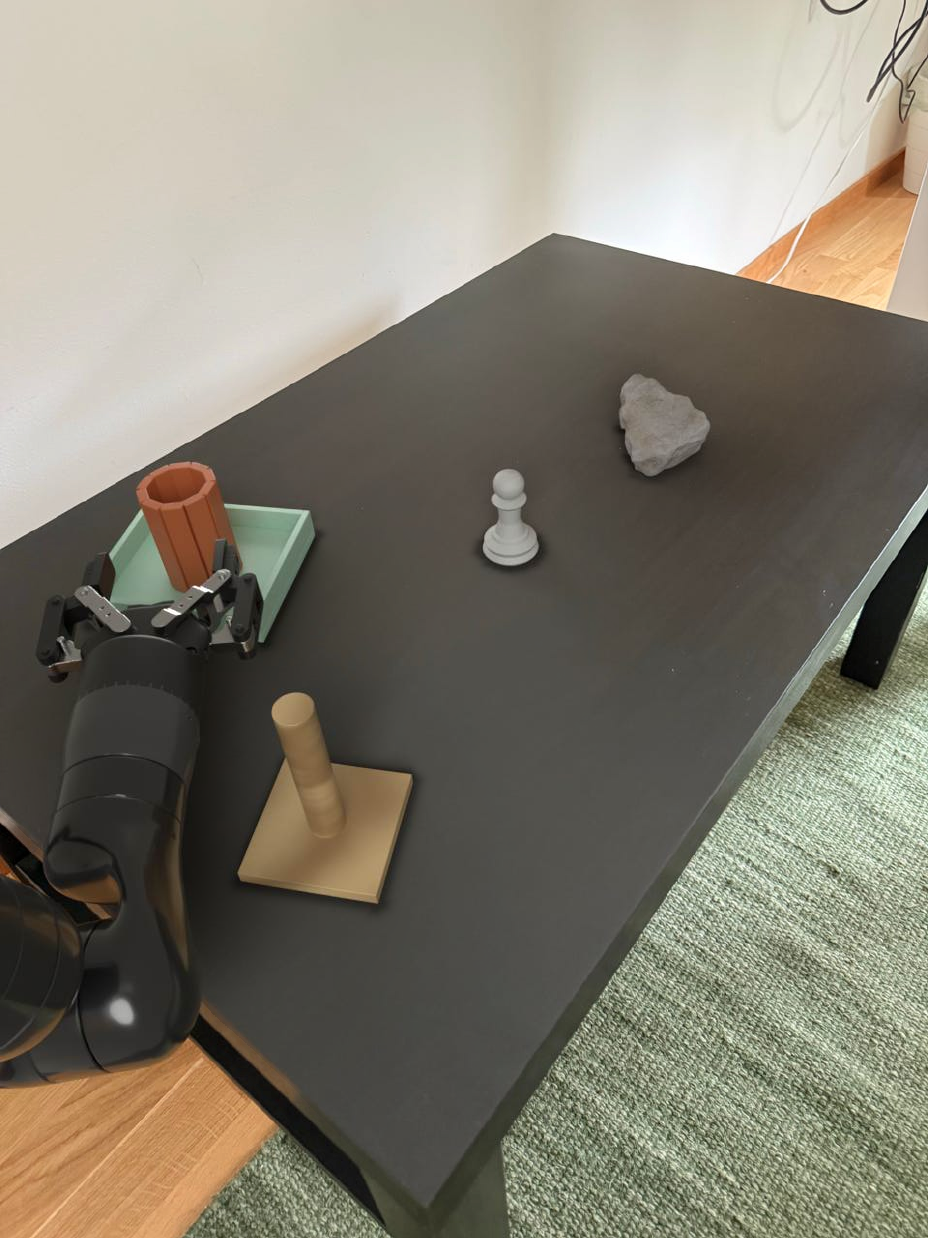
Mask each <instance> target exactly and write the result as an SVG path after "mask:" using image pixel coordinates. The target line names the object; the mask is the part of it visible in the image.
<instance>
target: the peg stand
mask: <svg viewBox="0 0 928 1238" xmlns="http://www.w3.org/2000/svg"><path fill="white" fill-rule="evenodd" d="M271 708H272V709H271V718H272V720H273V724H274V726H275V729H276V733H277V735H278V739H279V741H280V744H281V748H282V750H283V753H284V756H285V757H284V760H283V762H282V764H281V767H280V770H279V771H278V774H277V777H276V779H275V782H274V783H273V787H272V788H271V791H270V793H269V796H268V798H267V800H266V803H265V806H264V808H263V810H262V812H261V815H260V817H259V820H258V823H257V824H256V827H255V830H254V832H253V835H252V837H251V839H250V841H249V844H248V846H247V849H246V852H245V854H244V856H243V859H242V861H241V864H240V866H239V868H238V871H237V876H238V878H239V880H240V882H244V883H250V884H256V885H262V886H268V887H274V888H281V889H287V890H292V891H299V892H305V893H311V894H317V895H324V896H329V897H334V898H340V899H347V900H353V901H360V902H366V903H373V904H379V902H380V898H381V895H382V891H383V888H384V884H385V881H386V877H387V873H388V871H389V867H390V864H391V860H392V856H393V853H394V850H395V846H396V843H397V839H398V836H399V833H400V829H401V826H402V822H403V819H404V815H405V812H406V809H407V805H408V802H409V799H410V794H411V791H412V787H413V784H414V781H413V780H414V779H413V774H412V773H405V772H396V771H391V770H390V771H389V770H382V769H375V768H368V767H361V766H354V765H346V764H339V763H333V762H331V758H330V755H329V751H328V748H327V744H326V741H325V737H324V733H323V730H322V727H321V723H320V719H319V716H318V713H317V709H316V705H315V702H314V700H313V699H312V697H310V695H308V694H306V693H302V692H290V693H287V694H284V695H282V696H280V697H279V698H278V699H277V700H275V702H274V703H273V705H272V707H271Z"/></svg>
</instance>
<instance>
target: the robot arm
mask: <svg viewBox="0 0 928 1238" xmlns="http://www.w3.org/2000/svg"><path fill="white" fill-rule="evenodd" d="M109 554H110V553H109V552H107V551H105V552H98V553H95V558H94V560H90V561H89V562H88V564H86V566H85V571H84V573H83V574H84V575H83V578H82V582H81V586H80V587H78V588H77V589H76V590H75V591H74V594H73V595H70V596H68V597H65V596H64V595H60V594H56V595H53V596H51V597H49V598H48V599H47V600H46V603H45V608H44V613H43V617H42V622H41V627H40V631H39V637H38V641H37V645H36V651H35V656H36V659H37V660H38V661H39V664H40V665H41V667H42V670H43V671H44V673H45V674H46V675H47V678H48V679H49V681H50V682H51V683H53V684H60V683H62V682H64V681H66V680H67V678H68V677H69V674H70V672H74V671H80V672H79V676H78V681H77V685H76V688H75V691H74V692H75V693H74V696H73V697H74V698H73V702H72V705H71V710H70V714H69V718H68V722H67V727H66V730H65V735H64V739H63V743H62V748H61V756H60V769H59V771H60V772H59V779H58V785H57V790H56V793H55V797H54V802H53V807H52V811H51V815H50V819H49V824H48V826H47V831H46V835H45V840H44V846H43V853H42V868H43V873H44V875H45V878H46V879H47V882H48V883H49V884H50V886H51V887H52V888H53V889H54V890H56V891H57V892H58V893H60V894H62V895H63V896H65V897H67V898H69V899H71V900H74V901H78V902H82V903H85V904H91V905H92V904H93V905H101V906H107V907H109V906H110V907H117V909H116V912H115V914H114V916H112V917H107V918H101V919H96V920H92V921H91V920H90V921H85V922H81V923H76V922H75V920H74V918H73V916H71V914H70V913H69V912H68V911H67V910H66V909H65V908H64V907H63V905H61V904H60V903H59V902H57V901H56V900H55V899H53V897H50V896H49V895H47V894H46V893H44V892H42V891H40V890H38V889H36V888H34V887H32V886H29V885H27V884H25V883H23V882H21V881H19V880H16V879H14V878H12V877H9V876H7V875H5V874H2V873H0V1090H22V1089H23V1090H24V1089H32V1088H42V1087H46V1086H52V1085H58V1084H62V1083H68V1082H74V1081H79V1080H85V1079H90V1078H95V1077H101V1076H107V1075H112V1074H118V1073H124V1072H130V1071H135V1070H141V1069H145V1068H151V1067H153V1066H156V1065H158V1064H162V1063H164V1062H165V1061H167V1060H169V1059H170V1058H171V1057H173V1056H174V1055H175V1054H176V1053H177V1052H178V1051H179V1050H180V1049H181V1047H183V1045H184V1044H185V1042H186V1041H187V1040H188V1038H189V1037H190V1035H191V1033H192V1031H193V1029H194V1027H195V1025H196V1023H197V1020H198V1017H199V1014H200V1012H201V1008H202V1007H201V1006H202V1001H203V979H202V973H201V966H200V962H199V956H198V952H197V948H196V944H195V939H194V935H193V930H192V927H191V923H190V916H189V912H188V905H187V898H186V892H185V883H184V882H185V881H184V874H183V865H182V864H183V863H182V861H183V860H182V847H183V846H182V845H183V837H184V831H185V830H184V828H185V819H186V811H187V805H188V804H187V803H188V795H189V789H190V786H191V782H192V779H193V776H194V772H195V767H196V762H197V756H198V755H197V754H198V750H199V747H200V745H201V732H200V727H201V718H202V711H203V710H202V709H203V699H204V692H205V683H206V672H207V671H206V670H207V669H206V668H207V666H208V664H209V662H210V661H211V660H212V658H213V657H214V656H215V654H219V653H220V654H221V653H232V652H237V655H238V657H239V659H241V660H243V661H249V660H252V659H254V658H255V657H256V656H257V652H258V646H259V642H258V640H259V633H260V626H261V619H262V612H263V605H264V601H263V597H262V594H261V591H260V587H259V584H258V581H257V577H256V575H255V574H254V573H245V574H243V575H241V576H239V568H240V562H239V559H238V555H237V552H236V549H235V547H234V545H228V543H227V540H226V539H218V540H216V541H215V549H214V557H213V566H212V573H213V575H212V576H211V577H210V578H209V579H208V580H207V581H206V582H205V583H204V584H202V585H201V586H200V587H198V586H193V587H191V588H190V589H189V590H188V591H187V592H186V593H185V594H183V595H182V596H181V597H180V598H179V599H178V600H177V601H176V602H174V600H170V601H162V602H159V603H155V604H152V605H144V604H136V605H128V607H127V609H125V610H123V611H121V612H119V611H118V610H117V609H116V608H115V607H114V606H113V605H112V604H111V603H110V599H111V594H112V590H113V585H114V581H115V577H116V571H115V567H114V565H113V563H112V561H111V558H110V556H109ZM218 594H219V597H218V598H217V599H216V600H214V598H215V597H216V596H217V595H218ZM233 606H234V610H233V616H228V617H227V618H226V619H225V620H226V623H225V624H224V625H223V627H222V629H221V630H220V631H219V632H217V633H214V634H212V633H213V632H214V631H215V630H216V629H217V628H218V627H219V626H220V623H221V618H222V617H223V616H224V615H225V614H226V613H227V612H228V611H229V610H230V609H231V608H232V607H233ZM195 609H196V611H197V614H198V618H197V617H196V616H194V615H193V614H192V613H191V612H192V611H194V610H195ZM84 621H87V622H88V623H89V624H90V626H92V627H93V628H94V629H95V631H96V632H94V634H93V635H91V637H89V638H88V639H87V640H86V641H85V642H84V643H83V644H82V646H81V648H80V649H77V647H76V646H75V640H76V639H75V638H76V633H77V628H78V623H81V622H84Z"/></svg>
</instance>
